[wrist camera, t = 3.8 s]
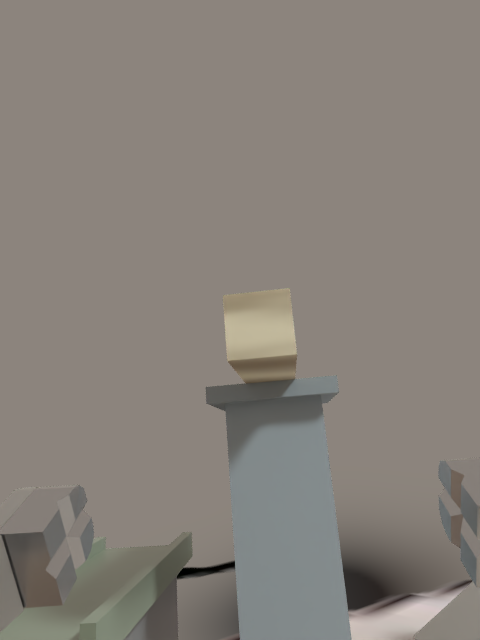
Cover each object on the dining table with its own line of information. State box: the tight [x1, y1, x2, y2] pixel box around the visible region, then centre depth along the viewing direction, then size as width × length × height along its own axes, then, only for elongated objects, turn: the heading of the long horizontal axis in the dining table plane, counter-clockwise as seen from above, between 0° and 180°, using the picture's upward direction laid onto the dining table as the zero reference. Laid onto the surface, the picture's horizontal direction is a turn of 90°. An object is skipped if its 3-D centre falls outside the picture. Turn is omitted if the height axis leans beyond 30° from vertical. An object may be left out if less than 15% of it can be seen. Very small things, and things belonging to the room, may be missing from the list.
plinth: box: [206, 376, 351, 640], centre depth 26 cm, size 8×8×26 cm
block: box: [223, 288, 297, 384], centre depth 29 cm, size 22×3×3 cm, turn 173°
